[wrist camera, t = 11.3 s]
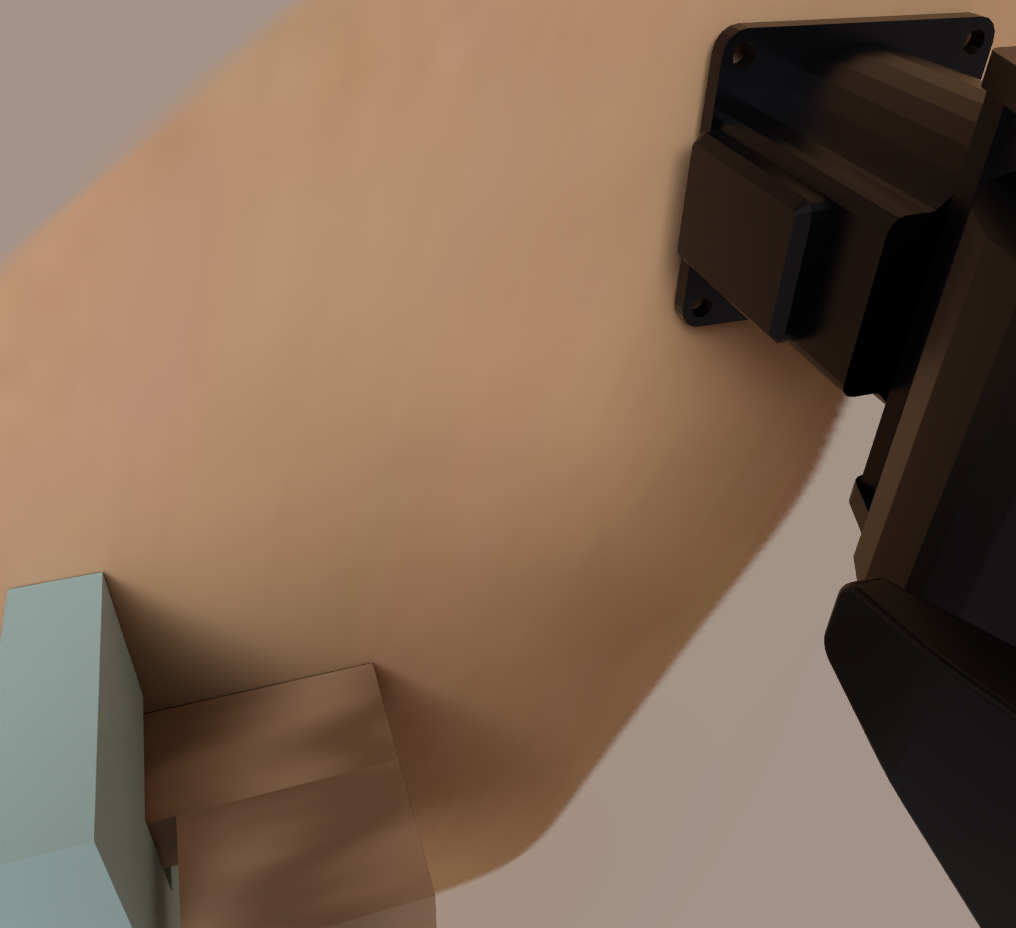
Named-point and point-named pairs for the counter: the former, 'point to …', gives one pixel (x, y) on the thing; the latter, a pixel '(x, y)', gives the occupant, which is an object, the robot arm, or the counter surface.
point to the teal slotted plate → (74, 768)
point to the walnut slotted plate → (287, 808)
